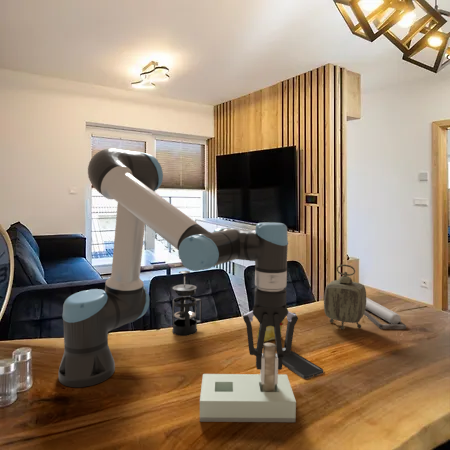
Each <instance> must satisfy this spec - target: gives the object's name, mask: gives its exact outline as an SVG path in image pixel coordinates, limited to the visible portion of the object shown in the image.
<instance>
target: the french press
mask: <svg viewBox="0 0 450 450" xmlns="http://www.w3.org/2000/svg"><path fill="white" fill-rule="evenodd" d="M190 271H191V270H181V271H179V272H178V273H179V274H181V275H182V274H183V276H182V277H183V284H177V285H174V286H172V290H173V291H174V292H175V294H176V295H178V296H177V297H175V298H173V299H172V330H171V332H172V333H173V334H174V335H176V336H180V337H181V336H182V337H184V336H185V337H187V336H192V335H195V334H196V333H197V332H198V327H197V326H198V324H199V323H202V320H203V318H202V317H203V316H202V313H203V312H202V311H203V310H202V309H203V307H202V303H203V301H202V299H201V298H195V297H193V295H195V294H196V290H197V286H196V285H193V284H187V283H186V277H187V274H191V272H190ZM186 301H192V302H189V303H188V302H187V303H186ZM177 302H179V303H177ZM198 302H199V320H198V319H197V318H198V317H197V316H198V314H197V308H198V307H197V305H198V304H197V303H198ZM175 307H177V308H179V311H176V312H175ZM191 307H194V311H192V310H191V311H190V308H191Z"/></svg>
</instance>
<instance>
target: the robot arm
mask: <svg viewBox="0 0 450 450" xmlns="http://www.w3.org/2000/svg"><path fill="white" fill-rule="evenodd" d="M87 166H88V167H87V176H88V179H89V181H90V184H91V185H92V187H93V188H94V189H95V190H96V191H97V192H98V193H99V194H100V195H102V196H103V197H104V198H106V199H108V200H114V201H116V202H117V206H116V216H115V217H116V218H115V219H116V220H115V229H114V230H115V231H114V240H113V241H114V242H113V251H112V252H113V253H112V262H111V263H112V264H111V265H112V266H111V274H110V277H108V279H106V280H105V284H104V286H105V287H104V289H100V288H99V289H98V288H91V289H87V290H86V289H85V290H81V291H79V292H75V293H73V294H71V295H69V296H68V297H67V298H66V299H65V300H64V303H63V305H62V315H61V316H62V317H61V318H62V319H63V320H62V323H63V345H64V349H63V350H64V352H63V355H62V358H61V361H60V364H59V368H58V382H59V383H60V384H61V385H62V386H66V387H68V388H69V387H70V388H84V387H85V388H86V387H90V386H94V385H97V384H100V383H103V382H104V381H106V380H108V379H110V378H111V376H113V374H114V373H115V371H116V364H115V359H114V357H113V355H112V352H111V348H110V347H109V337H108V336H109V332H111V331H113V330H115V329H117V328H120V327H122V326H125V325H127V324H131V323H133V322H136V321H137V320H138V319H140V318H142V317H143V316H145V314H146V313H147V311H148V310H149V307H150V295H149V293H148V289H147V288H146V287H145V286H144V285H145V283H144V281H143V280H142V279H141V278H140V276H141V266H142V257H143V245H144V238H145V236H144V235H145V227H148V228H150V229H151V230H152V231H153V232H155V233H156V234H157V235H158V236H159V237H160V238H162V239H164V240H165V241H166V242H168V243H169V244H170V245H171V246H172V247H174V248H175V249H176V250H177V251H178V257H179V260H180V261H181V264H182V266H184V267H185V268H186V269H187V270H188V271H191V272H192V271H194V272H197V271H204V270H208V269H211V268H213V267H216V266H218V265H222V264H225V263H228V262H232V261H234V260H239V261H241V260H242V261H249V262H254V270H255V271H254V273H255V274H254V285H255V287H254V305H253V306H252V310H251V311H249V312H246V311H245V312H243V313H242V319H243V321H244V323H245V326H246V335H247V343H248V344H247V347H248V353H249V355H250V356H255V367H256V369H257V370H259V374H260V380H261V384H264V377H265V357H263V345H264V344H265V342H264V338H265V332H266V327H268V326H273V327H274V333H275V339H274V340H275V345H276V357H275V374H274V384H278V374H279V370H283V365H282V361H283V356H285V355H290V353H291V351H292V345H293V339H294V333H295V332H294V331H295V326H296V324H297V322H298V320H299V317H298V315H297V313H296V312H291V311H289V310H288V308H287V289H286V288H287V286H288V285H287V284H288V283H287V281H288V280H287V279H288V277H287V276H288V251H289V250H288V249H289V248H288V247H289V246H288V245H289V239H288V226H287V225H286V224H285V223H282V222H268V221H267V222H265V221H264V222H258V223H256V225H255V229H251V230H250V229H239V228H232V227H221V228H220V227H218V228H216V229H214V230H213V232H211V231H209V230H207V229H206V228H204V227H203V226H201V225H200V224H199V223H198V222H196V221H195V220H193V219H192V218H190V217H189V216H188V215H186V214H185V213H184V212H182V211H181V210H180V209H178V208H177V207H176V206H174V205H173V204H171V202H170V201H167V200H166V199H165V198H163V197H162V196H161V195H159V194H158V193H157V192H156V191H157V190H158V189H159V188H160V187H161V186H162V184H163V179H164V171H163V168H162V165H161V163H160V162H159V161H158V159H157V158H156V157H155V156H154V155H152V154H149V153H145V152H142V151H133V150H125V149H118V148H106V149H102V150H100V151H98V152H96V153H95V154H94V155H92V158H91V159H90V161H89V163H88V165H87ZM254 317H255V319H256V320H257V321H258V322H259V327H258V330H259V334H258V333H257V334H258V339H257V343H256V347H255V343H254V336H253V334H254V333H253V327H252V326H253V325H252V322H253V320H254ZM285 319H286V320H287V324H286V330H285V331H286V332H285V339H284V344H283V343H282V336H281V335H282V331H281V332H280V323H281V322H282V321H283V322H284V320H285ZM282 344H283V345H282Z"/></svg>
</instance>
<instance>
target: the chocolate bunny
mask: <svg viewBox="0 0 450 450" xmlns="http://www.w3.org/2000/svg"><path fill="white" fill-rule="evenodd" d="M283 325H284V320H283V321H282V322H281V323H280V332H281V333H282V329H283ZM258 334H259V329H258V331H257V335H256V338H257V340H258ZM282 336H283V335H282V334H281V337H282ZM273 340H275V333H274V327H273V326H268V327H266V332H265V338H264V343H266V342H269V341H273Z"/></svg>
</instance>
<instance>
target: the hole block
mask: <svg viewBox="0 0 450 450" xmlns="http://www.w3.org/2000/svg"><path fill="white" fill-rule="evenodd" d="M262 386H263V384H261V380H260V373H259V374H258V373H256V374H255V373H253V374H251V373H250V374H249V373H247V374H246V373H244V374H243V373H242V374H241V373H203V374H202V380H201V386H200V389H201V390H200V394H199V422H205V423H207V422H211V423H212V422H213V423H214V422H216V423H220V422H223V423H227V422H228V423H296V418H297V417H296V414H297V412H296V411H297V409H296V408H297V401H296V398H295V395H294V394H295V393H294V392H293V389H292V385H291V382H290V380H289V377H288V374H279V373H278V384H275V392H262Z"/></svg>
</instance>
